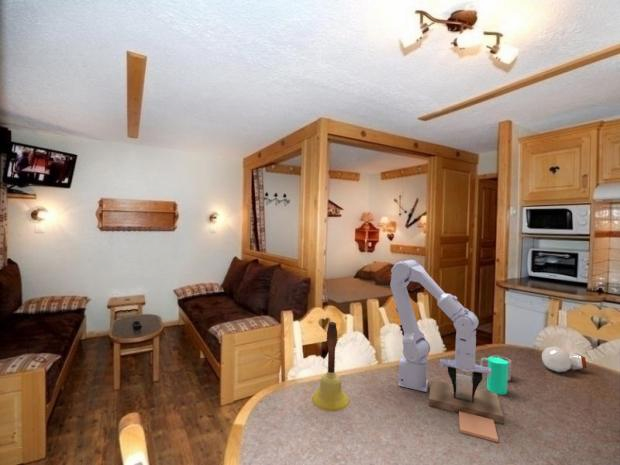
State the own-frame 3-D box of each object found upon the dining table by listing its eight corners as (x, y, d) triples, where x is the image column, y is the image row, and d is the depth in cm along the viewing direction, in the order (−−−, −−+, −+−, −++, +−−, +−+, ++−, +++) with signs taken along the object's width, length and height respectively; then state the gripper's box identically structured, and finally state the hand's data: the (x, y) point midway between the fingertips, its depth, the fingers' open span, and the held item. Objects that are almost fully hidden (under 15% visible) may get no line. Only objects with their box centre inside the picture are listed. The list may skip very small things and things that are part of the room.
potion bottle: (540, 372, 122) (573, 376, 124) (560, 368, 114) (595, 371, 116) (531, 348, 128) (564, 352, 129) (550, 342, 120) (584, 346, 121)
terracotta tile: (459, 432, 84) (460, 429, 84) (458, 413, 92) (458, 411, 92) (498, 442, 80) (498, 439, 80) (493, 422, 89) (493, 419, 89)
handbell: (342, 387, 106) (343, 315, 105) (355, 408, 94) (357, 327, 93) (307, 391, 103) (309, 317, 102) (316, 413, 91) (318, 330, 90)
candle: (510, 395, 103) (511, 360, 102) (490, 393, 104) (491, 358, 104) (502, 386, 109) (504, 353, 108) (484, 384, 110) (485, 351, 109)
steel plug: (455, 404, 97) (456, 379, 97) (455, 397, 101) (456, 373, 101) (471, 408, 95) (472, 383, 95) (470, 400, 99) (471, 376, 99)
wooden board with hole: (428, 405, 96) (429, 398, 96) (430, 385, 108) (431, 379, 108) (503, 423, 88) (503, 416, 88) (496, 400, 100) (496, 393, 100)
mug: (510, 375, 117) (511, 358, 117) (510, 382, 111) (511, 364, 111) (480, 368, 122) (481, 351, 122) (479, 375, 117) (480, 357, 117)
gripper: (440, 351, 97) (438, 393, 97) (493, 360, 91) (491, 405, 91) (440, 343, 103) (439, 382, 104) (490, 351, 97) (488, 393, 98)
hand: (463, 392), depth 98 cm, fingers closed on steel plug, 4 cm apart
